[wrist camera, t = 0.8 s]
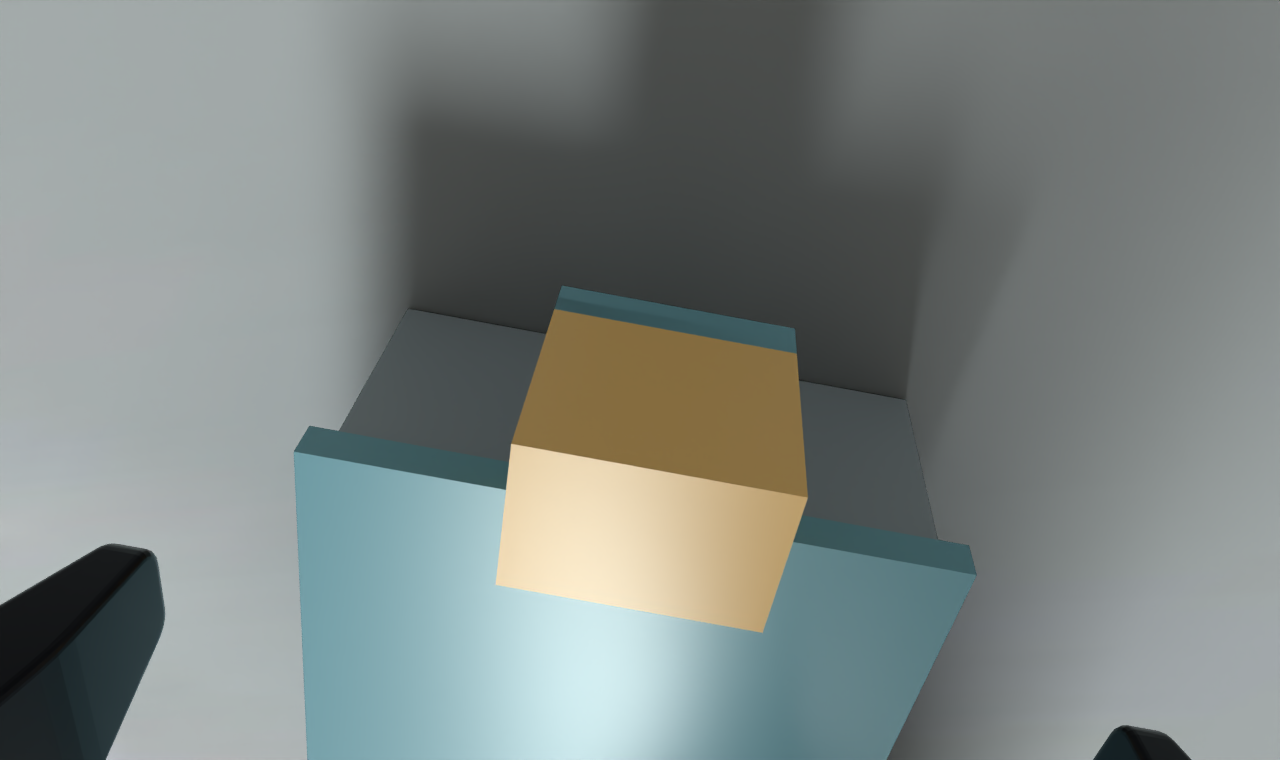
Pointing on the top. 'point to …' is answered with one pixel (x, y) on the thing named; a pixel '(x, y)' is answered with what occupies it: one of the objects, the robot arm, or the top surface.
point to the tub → (500, 379)
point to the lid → (612, 569)
